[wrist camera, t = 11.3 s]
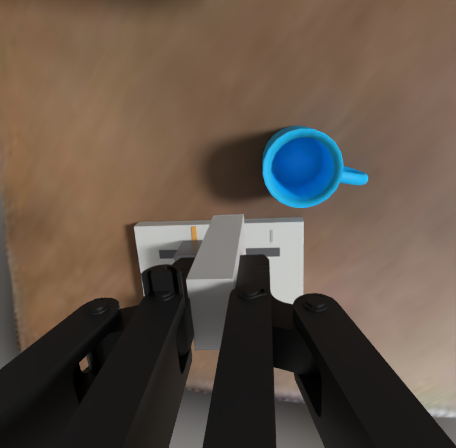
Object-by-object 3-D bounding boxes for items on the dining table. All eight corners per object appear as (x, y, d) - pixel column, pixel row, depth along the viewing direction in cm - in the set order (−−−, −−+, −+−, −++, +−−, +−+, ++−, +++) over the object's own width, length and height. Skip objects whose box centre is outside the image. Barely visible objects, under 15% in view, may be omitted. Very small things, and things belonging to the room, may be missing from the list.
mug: (255, 183, 45) (254, 198, 37) (270, 119, 42) (273, 120, 34) (347, 204, 44) (365, 223, 37) (368, 140, 42) (392, 146, 34)
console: (138, 222, 48) (133, 226, 46) (301, 217, 45) (303, 221, 43) (153, 323, 52) (148, 331, 50) (301, 323, 50) (302, 332, 48)
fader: (182, 240, 45) (173, 255, 40) (205, 240, 45) (199, 255, 40) (185, 268, 46) (177, 286, 42) (208, 268, 46) (201, 286, 41)
